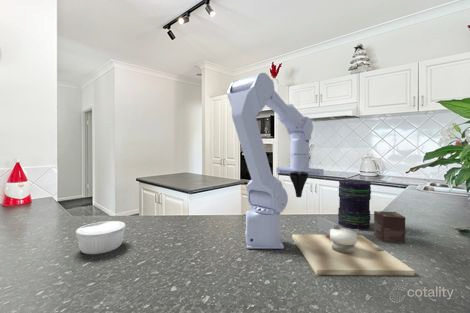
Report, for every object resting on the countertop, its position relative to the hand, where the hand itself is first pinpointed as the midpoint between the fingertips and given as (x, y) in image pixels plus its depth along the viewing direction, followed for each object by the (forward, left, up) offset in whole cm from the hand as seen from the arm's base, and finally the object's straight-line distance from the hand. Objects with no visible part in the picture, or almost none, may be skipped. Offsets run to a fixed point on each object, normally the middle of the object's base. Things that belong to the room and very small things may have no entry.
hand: (298, 196), depth 75 cm
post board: (+6, -18, -10) cm, 22 cm away
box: (+24, -8, -11) cm, 27 cm away
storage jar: (+20, +4, -11) cm, 23 cm away
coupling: (+5, -15, -7) cm, 17 cm away
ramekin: (-55, -15, -11) cm, 58 cm away
